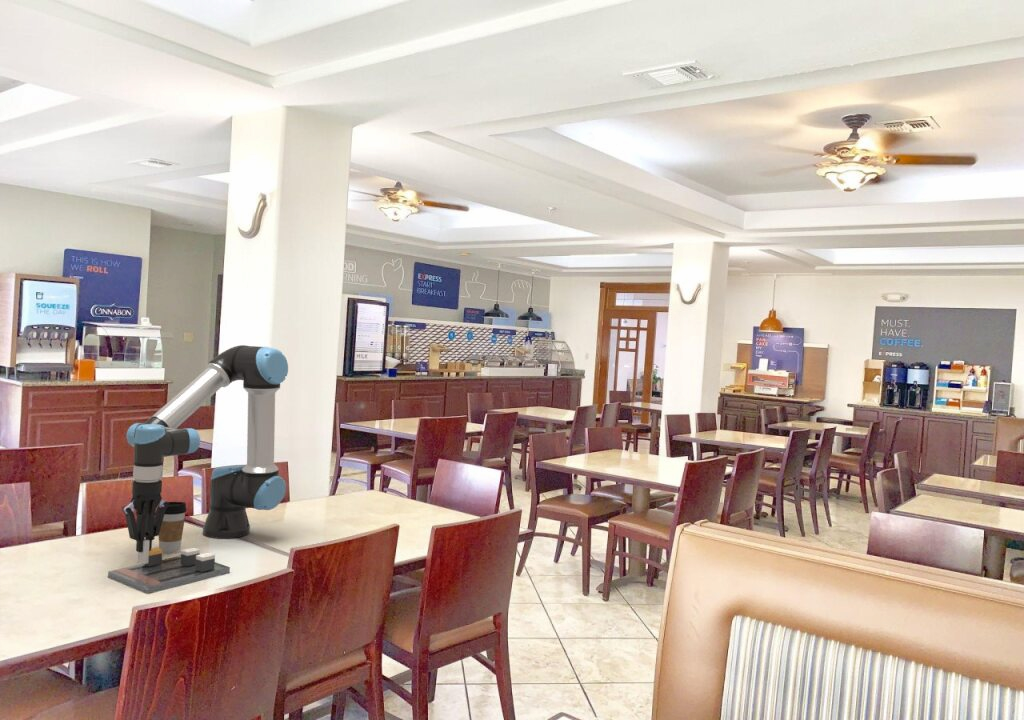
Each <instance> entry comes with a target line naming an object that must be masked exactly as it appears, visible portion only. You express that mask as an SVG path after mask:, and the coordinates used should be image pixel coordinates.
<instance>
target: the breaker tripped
mask: <svg viewBox="0 0 1024 720" xmlns="http://www.w3.org/2000/svg"><path fill="white" fill-rule="evenodd" d="M162 560H163V553H162V549H159V547H152V548H151V550H149V560H148V563H147V564H143V565H146V566H153V565H157V564H162Z"/></svg>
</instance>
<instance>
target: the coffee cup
mask: <svg viewBox="0 0 1024 720" xmlns="http://www.w3.org/2000/svg"><path fill="white" fill-rule="evenodd" d="M168 502H169V505H168V507H167V509H166V511H165V514H164V518H163V522H162V525H161V529H160V533H159V535H158V548H159V549H162V554H168V555H169V554H176V553H179V552H181V545H182V539H183V532H184V526H185V519H186V517H185V515H186V512H187V503H186V502H185V501H168Z"/></svg>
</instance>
